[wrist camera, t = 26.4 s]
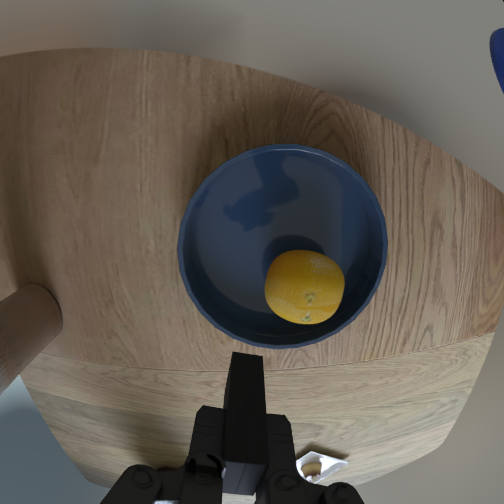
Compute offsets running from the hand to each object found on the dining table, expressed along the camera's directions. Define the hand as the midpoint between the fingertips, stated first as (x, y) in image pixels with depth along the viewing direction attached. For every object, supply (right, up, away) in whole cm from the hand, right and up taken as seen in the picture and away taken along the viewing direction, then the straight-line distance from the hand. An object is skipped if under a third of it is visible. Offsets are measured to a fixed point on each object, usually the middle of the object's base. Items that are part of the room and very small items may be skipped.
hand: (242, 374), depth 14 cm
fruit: (+6, +4, +22) cm, 23 cm away
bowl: (+4, +7, +21) cm, 23 cm away
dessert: (+13, -40, +35) cm, 54 cm away
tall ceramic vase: (-35, -3, +24) cm, 42 cm away
